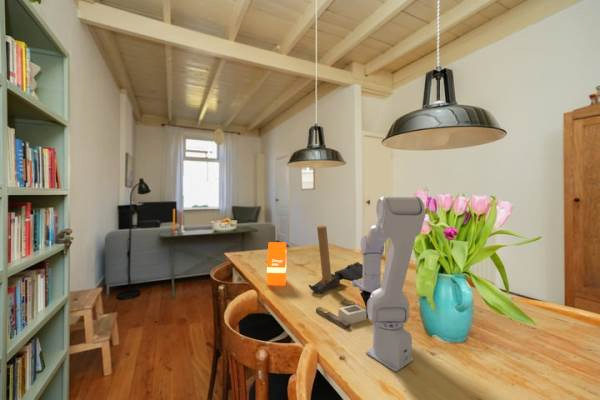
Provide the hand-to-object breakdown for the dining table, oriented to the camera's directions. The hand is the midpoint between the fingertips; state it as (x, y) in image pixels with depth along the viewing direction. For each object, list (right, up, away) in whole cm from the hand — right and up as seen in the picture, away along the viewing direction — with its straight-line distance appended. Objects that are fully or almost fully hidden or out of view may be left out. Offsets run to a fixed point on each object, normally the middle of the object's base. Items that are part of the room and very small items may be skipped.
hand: (370, 314), depth 85 cm
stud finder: (-5, -5, +6) cm, 9 cm away
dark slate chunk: (+6, -4, +58) cm, 59 cm away
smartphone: (+11, -5, +31) cm, 33 cm away
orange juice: (-35, -4, +43) cm, 55 cm away
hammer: (-11, -4, +36) cm, 37 cm away
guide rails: (-7, -4, +9) cm, 12 cm away
